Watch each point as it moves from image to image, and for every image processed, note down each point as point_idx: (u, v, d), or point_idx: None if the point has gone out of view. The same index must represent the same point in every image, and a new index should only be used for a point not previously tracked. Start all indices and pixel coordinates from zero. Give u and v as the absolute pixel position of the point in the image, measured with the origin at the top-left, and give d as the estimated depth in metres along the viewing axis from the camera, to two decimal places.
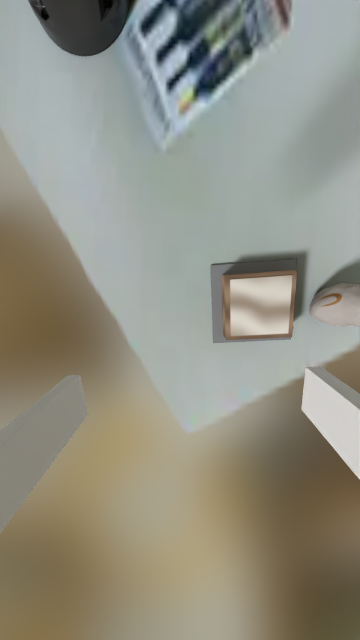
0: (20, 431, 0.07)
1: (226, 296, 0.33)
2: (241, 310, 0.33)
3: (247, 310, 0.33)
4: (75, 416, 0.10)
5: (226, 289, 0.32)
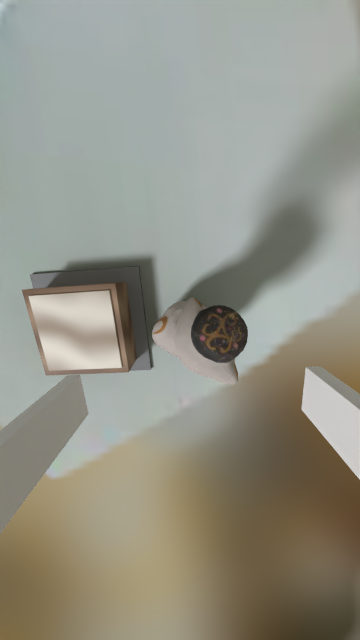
0: (20, 431, 0.07)
1: (31, 318, 0.24)
2: (53, 337, 0.24)
3: (61, 337, 0.24)
4: (75, 416, 0.10)
5: (28, 308, 0.23)
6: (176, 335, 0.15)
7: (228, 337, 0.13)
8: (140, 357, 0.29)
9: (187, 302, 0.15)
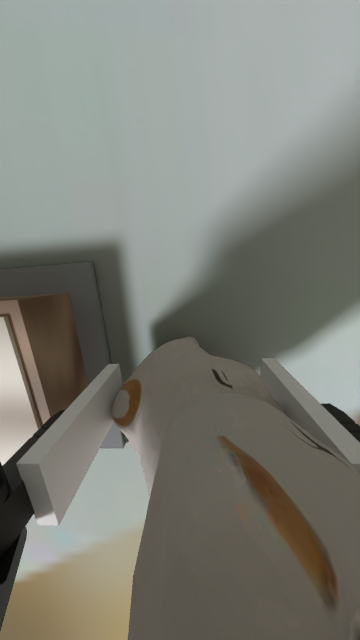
0: (85, 407, 0.08)
1: None
2: None
3: None
4: None
5: None
6: None
7: None
8: None
9: (202, 531, 0.02)
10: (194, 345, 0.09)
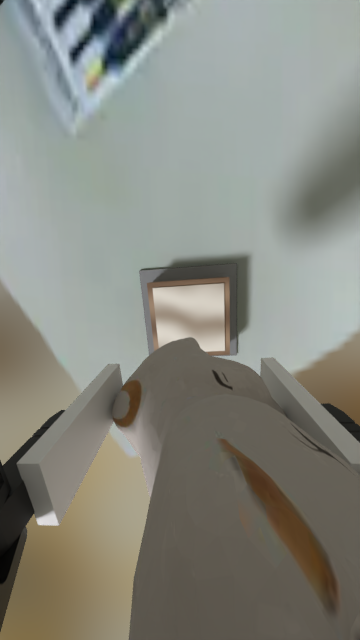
0: (85, 407, 0.08)
1: (150, 307, 0.28)
2: (168, 324, 0.28)
3: (175, 324, 0.28)
4: None
5: (149, 299, 0.27)
6: None
7: None
8: None
9: (203, 535, 0.02)
10: (194, 346, 0.09)
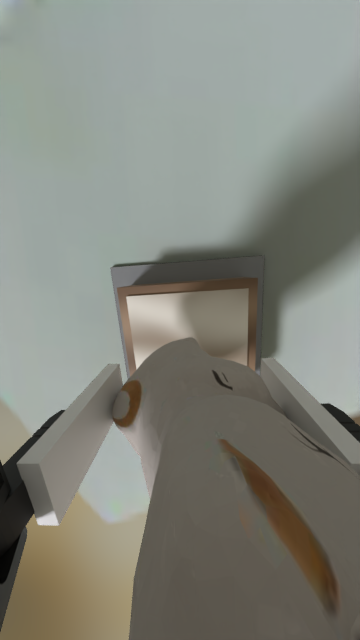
0: (85, 407, 0.08)
1: (124, 328, 0.17)
2: None
3: None
4: None
5: (122, 314, 0.16)
6: None
7: None
8: None
9: (204, 536, 0.02)
10: (194, 346, 0.09)
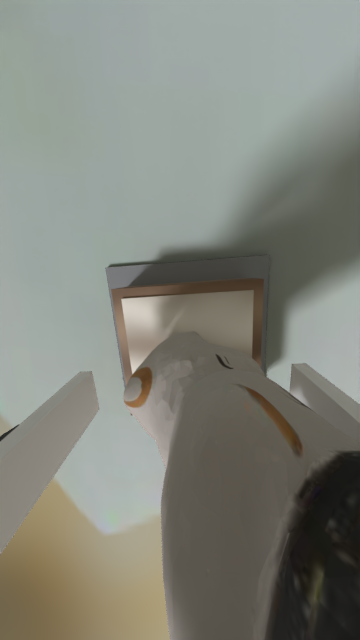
0: (41, 422, 0.07)
1: (119, 332, 0.16)
2: None
3: None
4: (88, 411, 0.11)
5: (117, 318, 0.15)
6: (166, 552, 0.03)
7: None
8: None
9: (222, 422, 0.03)
10: (198, 336, 0.11)
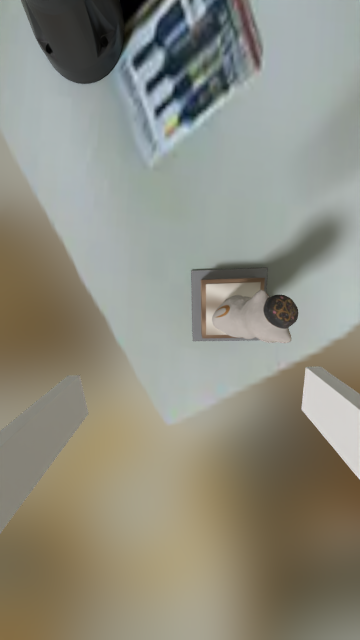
0: (20, 431, 0.07)
1: (202, 299, 0.36)
2: None
3: None
4: (75, 416, 0.10)
5: (202, 292, 0.36)
6: (249, 313, 0.24)
7: (288, 312, 0.22)
8: None
9: (259, 292, 0.24)
10: (242, 296, 0.31)
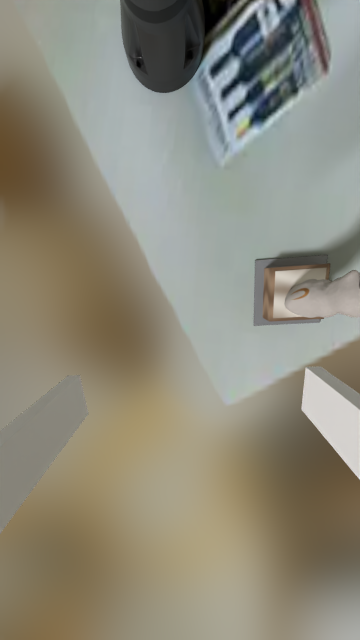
0: (20, 431, 0.07)
1: (271, 285, 0.40)
2: (283, 296, 0.40)
3: None
4: (75, 416, 0.10)
5: (271, 279, 0.40)
6: (342, 291, 0.28)
7: None
8: None
9: (352, 272, 0.27)
10: None
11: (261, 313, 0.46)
